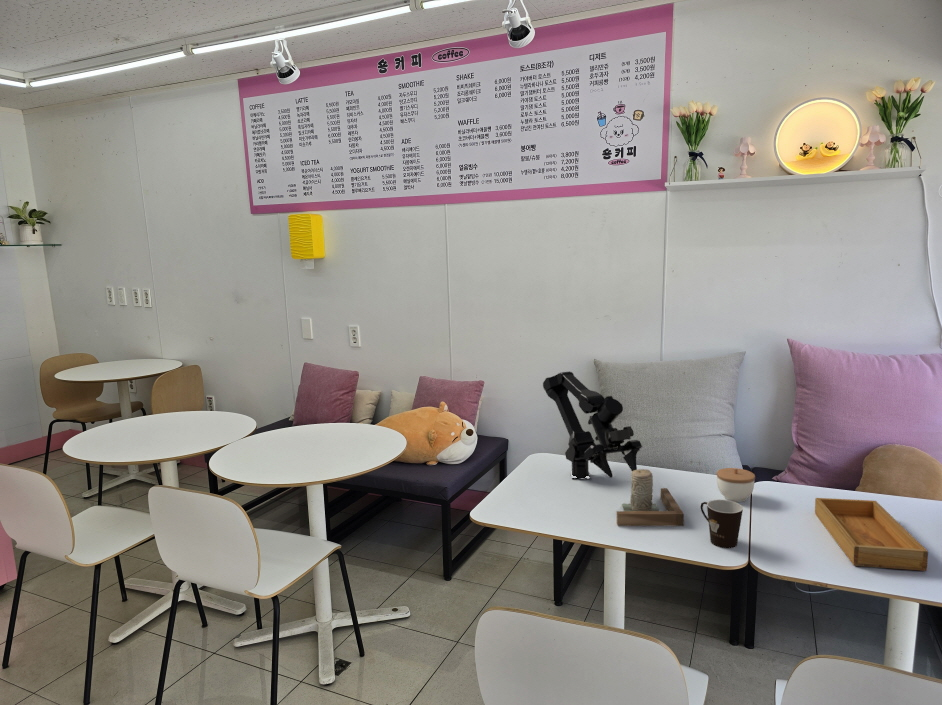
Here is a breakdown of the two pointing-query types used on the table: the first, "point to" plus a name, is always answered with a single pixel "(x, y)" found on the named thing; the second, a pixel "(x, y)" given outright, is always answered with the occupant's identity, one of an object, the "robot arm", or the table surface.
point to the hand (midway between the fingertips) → (623, 475)
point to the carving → (641, 490)
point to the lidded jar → (735, 483)
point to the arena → (653, 514)
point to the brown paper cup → (723, 522)
